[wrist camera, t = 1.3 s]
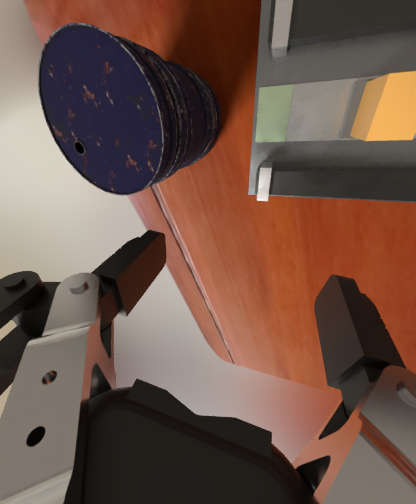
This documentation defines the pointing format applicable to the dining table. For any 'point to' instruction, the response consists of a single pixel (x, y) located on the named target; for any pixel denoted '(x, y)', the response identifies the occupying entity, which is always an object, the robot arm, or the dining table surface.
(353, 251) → the dining table surface
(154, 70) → the dark blue cylinder
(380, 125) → the toggle
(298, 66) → the grey flat railed piece
